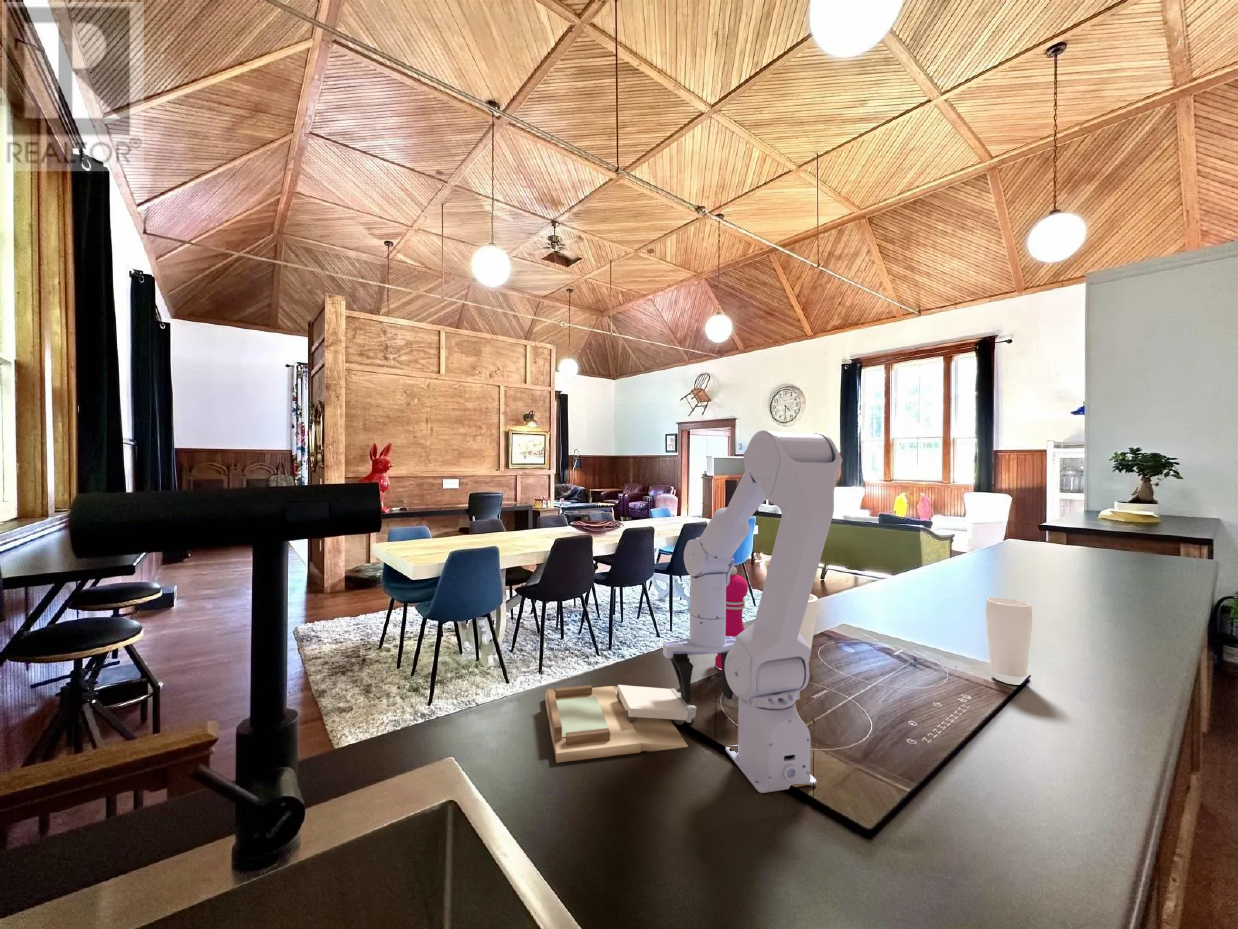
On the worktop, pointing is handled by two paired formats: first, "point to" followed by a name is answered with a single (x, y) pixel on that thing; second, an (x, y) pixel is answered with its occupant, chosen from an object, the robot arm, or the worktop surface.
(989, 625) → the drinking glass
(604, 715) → the dock
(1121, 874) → the worktop surface
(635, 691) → the white tabbed block
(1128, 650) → the worktop surface
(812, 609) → the foam cup
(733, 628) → the pepper mill
